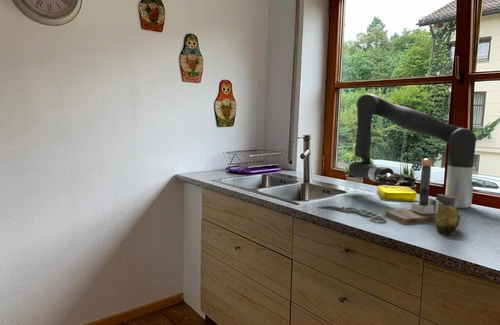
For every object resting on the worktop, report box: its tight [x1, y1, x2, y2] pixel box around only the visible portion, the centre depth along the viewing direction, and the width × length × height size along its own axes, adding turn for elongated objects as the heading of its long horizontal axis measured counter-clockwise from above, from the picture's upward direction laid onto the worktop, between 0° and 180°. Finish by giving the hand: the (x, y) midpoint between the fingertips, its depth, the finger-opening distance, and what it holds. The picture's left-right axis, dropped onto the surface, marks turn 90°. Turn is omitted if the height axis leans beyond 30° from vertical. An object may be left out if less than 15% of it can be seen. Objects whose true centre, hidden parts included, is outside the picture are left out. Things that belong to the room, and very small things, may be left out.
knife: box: [317, 205, 388, 224], centre depth 141 cm, size 28×2×10 cm
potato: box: [434, 205, 461, 236], centre depth 121 cm, size 8×13×8 cm, turn 135°
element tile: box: [376, 184, 418, 202], centre depth 170 cm, size 15×15×5 cm
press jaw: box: [411, 158, 439, 214], centre depth 134 cm, size 6×7×20 cm
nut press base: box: [384, 193, 455, 225], centre depth 135 cm, size 23×11×8 cm, turn 105°
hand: (405, 181), depth 145 cm, fingers open, 8 cm apart
